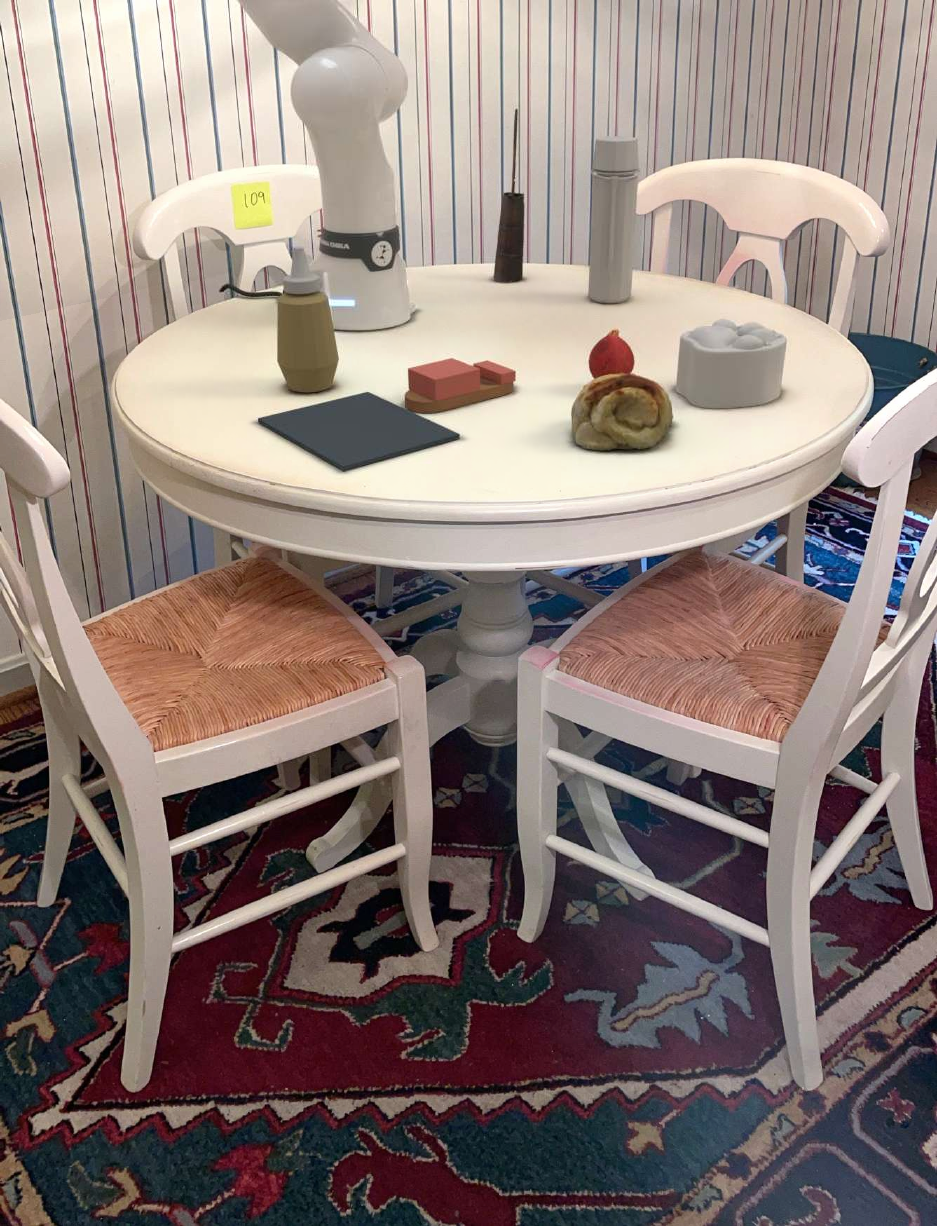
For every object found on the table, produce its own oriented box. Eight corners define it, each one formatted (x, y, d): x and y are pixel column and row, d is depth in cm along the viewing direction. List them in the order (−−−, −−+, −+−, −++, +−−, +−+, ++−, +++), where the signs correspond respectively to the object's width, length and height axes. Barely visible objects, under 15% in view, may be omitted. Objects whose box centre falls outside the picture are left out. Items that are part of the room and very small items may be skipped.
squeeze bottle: (350, 380, 150) (341, 242, 141) (324, 399, 144) (313, 256, 135) (296, 375, 153) (284, 239, 144) (268, 393, 146) (254, 252, 137)
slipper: (494, 379, 150) (494, 347, 148) (522, 390, 146) (523, 358, 144) (395, 404, 142) (394, 371, 140) (422, 416, 137) (421, 382, 135)
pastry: (597, 461, 124) (600, 392, 120) (546, 426, 134) (548, 361, 130) (704, 441, 129) (710, 374, 125) (647, 409, 139) (651, 346, 135)
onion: (603, 399, 142) (606, 337, 138) (579, 387, 147) (581, 326, 143) (640, 392, 144) (644, 331, 141) (615, 380, 149) (619, 320, 145)
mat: (258, 422, 136) (257, 418, 136) (368, 395, 145) (367, 391, 144) (343, 471, 122) (343, 466, 122) (459, 438, 131) (459, 433, 130)
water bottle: (586, 293, 190) (593, 135, 178) (633, 294, 189) (642, 135, 177) (584, 307, 182) (590, 143, 170) (632, 308, 181) (642, 143, 169)
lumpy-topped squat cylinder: (668, 385, 147) (673, 319, 143) (759, 377, 149) (767, 312, 145) (699, 410, 138) (706, 341, 134) (796, 402, 140) (805, 334, 136)
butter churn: (519, 289, 194) (521, 113, 180) (472, 283, 198) (470, 111, 184) (543, 278, 200) (547, 108, 187) (497, 272, 205) (497, 106, 191)
